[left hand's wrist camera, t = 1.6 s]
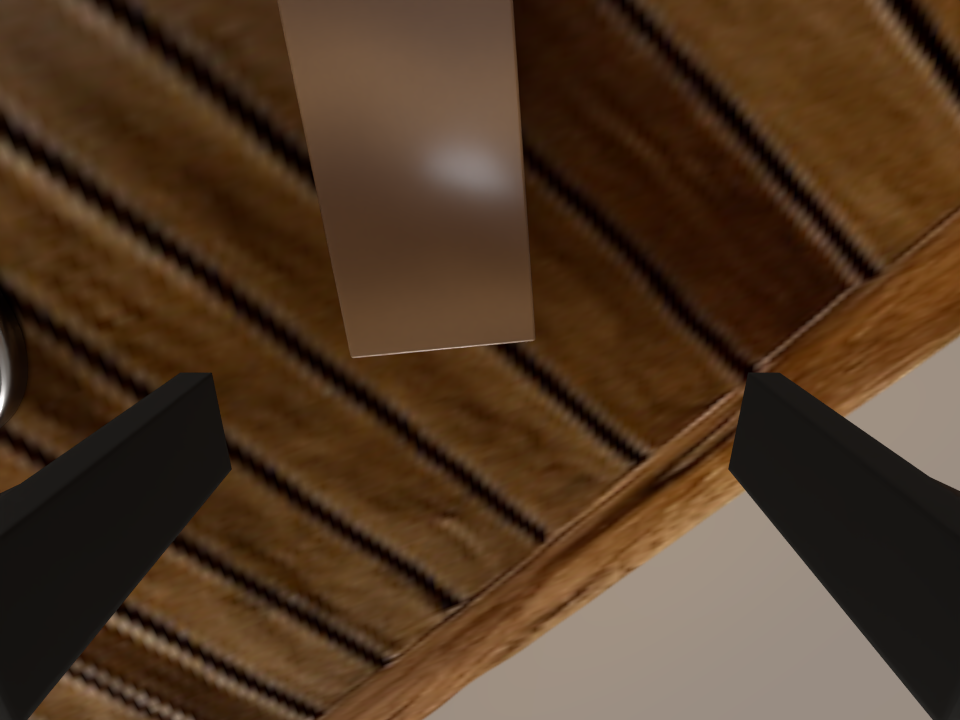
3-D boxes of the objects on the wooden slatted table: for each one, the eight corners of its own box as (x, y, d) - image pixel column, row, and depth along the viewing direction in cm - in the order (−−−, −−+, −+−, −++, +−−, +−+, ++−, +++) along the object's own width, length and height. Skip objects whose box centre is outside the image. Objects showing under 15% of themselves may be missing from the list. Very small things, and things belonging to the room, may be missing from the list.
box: (513, 267, 29) (535, 341, 17) (405, 278, 29) (350, 359, 17) (474, -225, 21) (463, -738, 9) (330, -205, 21) (135, -678, 9)
